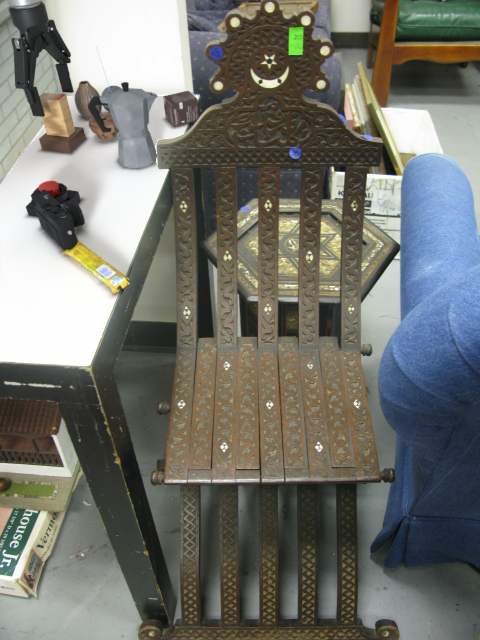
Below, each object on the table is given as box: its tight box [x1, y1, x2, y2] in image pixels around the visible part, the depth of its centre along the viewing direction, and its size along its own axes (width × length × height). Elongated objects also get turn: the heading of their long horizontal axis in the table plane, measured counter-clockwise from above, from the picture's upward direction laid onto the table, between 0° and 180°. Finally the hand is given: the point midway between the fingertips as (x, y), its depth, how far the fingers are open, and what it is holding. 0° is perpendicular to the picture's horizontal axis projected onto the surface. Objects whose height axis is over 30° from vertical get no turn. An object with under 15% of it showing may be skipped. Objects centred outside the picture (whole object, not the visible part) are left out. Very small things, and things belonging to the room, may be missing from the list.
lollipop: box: [95, 45, 123, 113], centre depth 142 cm, size 10×20×7 cm
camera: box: [30, 189, 86, 252], centre depth 108 cm, size 14×7×8 cm, turn 39°
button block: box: [25, 182, 82, 218], centre depth 117 cm, size 8×8×4 cm
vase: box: [74, 80, 103, 119], centre depth 147 cm, size 7×7×9 cm
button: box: [37, 180, 60, 196], centre depth 115 cm, size 4×4×2 cm
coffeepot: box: [88, 81, 159, 169], centre depth 126 cm, size 15×9×18 cm, turn 99°
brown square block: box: [38, 126, 87, 155], centre depth 138 cm, size 8×8×3 cm
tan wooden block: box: [39, 92, 76, 137], centre depth 134 cm, size 6×4×9 cm, turn 74°
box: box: [162, 90, 200, 128], centre depth 144 cm, size 6×6×7 cm
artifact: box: [88, 112, 119, 141], centre depth 139 cm, size 8×8×5 cm
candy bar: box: [61, 240, 130, 295], centre depth 101 cm, size 17×4×2 cm, turn 46°
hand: (54, 103), depth 132 cm, fingers open, 13 cm apart
